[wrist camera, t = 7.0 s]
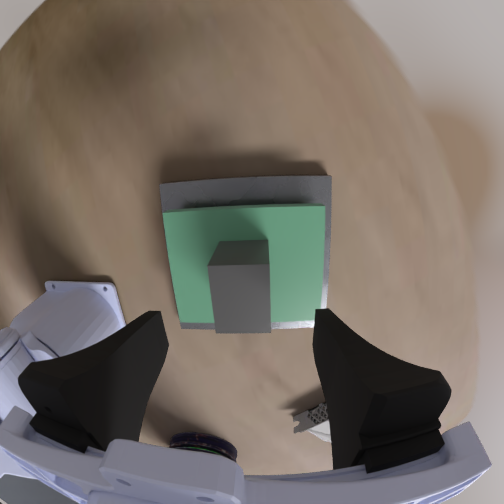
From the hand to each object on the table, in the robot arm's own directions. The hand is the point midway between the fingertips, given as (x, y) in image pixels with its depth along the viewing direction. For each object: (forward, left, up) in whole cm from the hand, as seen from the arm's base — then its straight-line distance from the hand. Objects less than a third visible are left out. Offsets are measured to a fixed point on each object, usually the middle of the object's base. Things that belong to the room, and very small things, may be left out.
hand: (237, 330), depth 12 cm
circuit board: (0, 0, -7) cm, 7 cm away
